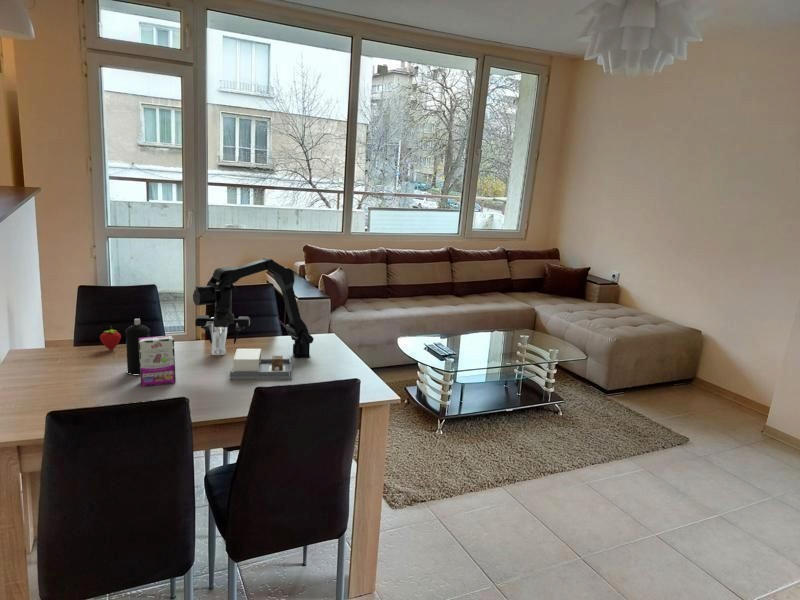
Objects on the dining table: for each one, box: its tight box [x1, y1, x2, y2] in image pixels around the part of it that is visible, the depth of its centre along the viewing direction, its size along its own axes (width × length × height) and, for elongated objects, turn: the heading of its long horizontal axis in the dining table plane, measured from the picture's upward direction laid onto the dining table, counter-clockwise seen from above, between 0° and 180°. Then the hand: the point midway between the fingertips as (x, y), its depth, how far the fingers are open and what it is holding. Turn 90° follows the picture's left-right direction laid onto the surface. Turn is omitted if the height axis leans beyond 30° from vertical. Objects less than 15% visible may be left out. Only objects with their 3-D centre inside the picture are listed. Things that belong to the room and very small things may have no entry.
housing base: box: [229, 356, 293, 380], centre depth 204 cm, size 22×16×3 cm
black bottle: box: [124, 318, 151, 374], centre depth 194 cm, size 8×8×20 cm
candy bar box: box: [139, 334, 177, 387], centre depth 185 cm, size 11×5×16 cm, turn 117°
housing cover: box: [232, 348, 262, 371], centre depth 202 cm, size 9×13×6 cm
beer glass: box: [210, 316, 228, 357], centre depth 219 cm, size 7×7×15 cm
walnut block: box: [271, 355, 284, 370], centre depth 204 cm, size 4×4×4 cm
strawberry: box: [99, 326, 122, 351], centre depth 215 cm, size 6×8×10 cm
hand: (223, 343), depth 199 cm, fingers open, 8 cm apart
